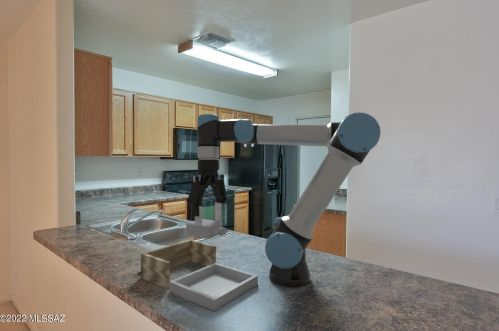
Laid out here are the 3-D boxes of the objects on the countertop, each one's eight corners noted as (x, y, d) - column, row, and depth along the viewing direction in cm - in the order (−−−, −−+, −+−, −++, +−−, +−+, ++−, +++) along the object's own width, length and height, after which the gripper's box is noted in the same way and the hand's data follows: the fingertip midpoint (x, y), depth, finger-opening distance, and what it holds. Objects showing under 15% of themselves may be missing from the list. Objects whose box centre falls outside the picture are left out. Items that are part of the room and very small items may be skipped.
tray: (257, 285, 102) (257, 275, 102) (214, 311, 84) (214, 300, 84) (215, 271, 114) (215, 262, 114) (169, 292, 96) (169, 281, 96)
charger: (218, 242, 93) (186, 236, 101) (236, 236, 100) (204, 230, 109) (218, 228, 93) (186, 222, 101) (236, 222, 100) (204, 218, 109)
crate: (215, 267, 118) (216, 245, 118) (166, 288, 99) (167, 262, 99) (190, 259, 128) (190, 239, 127) (140, 277, 108) (140, 253, 108)
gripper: (221, 159, 112) (222, 216, 112) (176, 159, 95) (177, 227, 95) (236, 159, 107) (236, 219, 108) (191, 159, 90) (192, 230, 91)
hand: (208, 223), depth 102 cm, fingers closed on charger, 9 cm apart
